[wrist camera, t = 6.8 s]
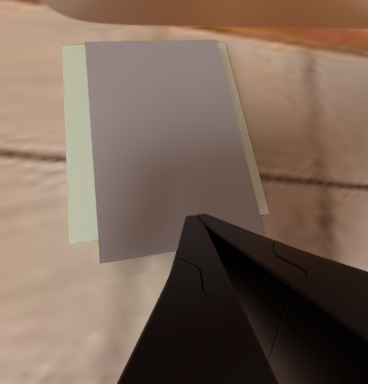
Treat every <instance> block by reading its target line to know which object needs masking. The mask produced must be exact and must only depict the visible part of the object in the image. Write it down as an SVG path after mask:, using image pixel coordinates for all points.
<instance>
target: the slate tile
mask: <svg viewBox="0 0 368 384" xmlns="http://www.w3.org/2000/svg"><path fill="white" fill-rule="evenodd" d="M85 51H86V66H87V81H88V95H89V110H90V124H91V139H92V154H93V168H94V183H95V198H96V212H97V227H98V241H99V256H100V263H107V262H113V261H119V260H125V259H131V258H137V257H143V256H149V255H155V254H161V253H167V252H172V251H177V248H178V244H179V240H180V236H181V232H182V229H183V225H184V221H185V217H186V216H190V215H197V214H204V213H205V214H208V215H211V216H213V217H216V218H218V219H221V220H223V221H226V222H228V223H231V224H234V225H236V226H239V227H241V228H244V229H246V230H249V231H251V232H254V233H257V234H259V235H262V236H265V232H264V228H263V224H262V220H261V216H260V212H259V208H258V204H257V200H256V196H255V192H254V188H253V184H252V180H251V176H250V172H249V168H248V164H247V160H246V156H245V152H244V148H243V144H242V140H241V136H240V132H239V128H238V124H237V120H236V116H235V112H234V108H233V104H232V100H231V96H230V92H229V88H228V84H227V80H226V76H225V72H224V68H223V64H222V60H221V56H220V52H219V48H218V44H217V40H193V41H118V42H85Z"/></svg>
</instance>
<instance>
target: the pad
mask: <svg viewBox="0 0 368 384" xmlns="http://www.w3.org/2000/svg"><path fill="white" fill-rule="evenodd" d="M217 44H218V48H219V52H220V56H221V60H222V64H223V68H224V72H225V76H226V80H227V84H228V88H229V92H230V96H231V100H232V104H233V108H234V112H235V116H236V120H237V124H238V128H239V132H240V136H241V140H242V144H243V148H244V152H245V156H246V160H247V164H248V168H249V172H250V176H251V180H252V184H253V188H254V192H255V196H256V200H257V204H258V208H259V212H260V215H266V214H269V210H268V206H267V202H266V198H265V195H264V191H263V187H262V183H261V179H260V176H259V172H258V168H257V164H256V160H255V157H254V153H253V149H252V145H251V141H250V138H249V134H248V130H247V126H246V122H245V119H244V115H243V111H242V107H241V103H240V99H239V96H238V92H237V88H236V84H235V80H234V77H233V73H232V69H231V65H230V61H229V58H228V54H227V50H226V46H225V43H217ZM62 57H63V83H64V109H65V135H66V161H67V187H68V213H69V239H70V244H78V243H85V242H91V241H98V227H97V212H96V198H95V183H94V168H93V154H92V139H91V124H90V110H89V95H88V81H87V66H86V51H85V45H73V46H62Z"/></svg>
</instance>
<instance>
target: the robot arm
mask: <svg viewBox="0 0 368 384" xmlns="http://www.w3.org/2000/svg"><path fill="white" fill-rule="evenodd" d="M117 384H368V272H367V271H364V270H361V269H357V268H354V267H351V266H348V265H345V264H342V263H339V262H336V261H333V260H329V259H326V258H323V257H320V256H317V255H314V254H311V253H308V252H305V251H302V250H299V249H296V248H294V247H291V246H288V245H286V244H283V243H280V242H278V241H273V240H272V239H269V238H267V237H264V236H262V235H259V234H257V233H254V232H251V231H249V230H246V229H244V228H241V227H239V226H236V225H234V224H231V223H228V222H226V221H223V220H221V219H218V218H216V217H213V216H211V215H208V214H205V213H204V214H197V215H190V216H186V217H185V221H184V225H183V229H182V232H181V236H180V240H179V244H178V248H177V251H176V255H175V259H174V262H173V265H172V268H171V271H170V275H169V277H168V279H167V282H166V284H165V286H164V288H163V290H162V292H161V294H160V297H159V299H158V301H157V303H156V305H155V307H154V309H153V311H152V313H151V315H150V317H149V319H148V321H147V323H146V325H145V327H144V329H143V331H142V333H141V335H140V337H139V339H138V342H137V344H136V346H135V348H134V350H133V352H132V354H131V356H130V358H129V360H128V362H127V364H126V366H125V368H124V370H123V372H122V374H121V376H120V378H119V380H118V382H117Z"/></svg>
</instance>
